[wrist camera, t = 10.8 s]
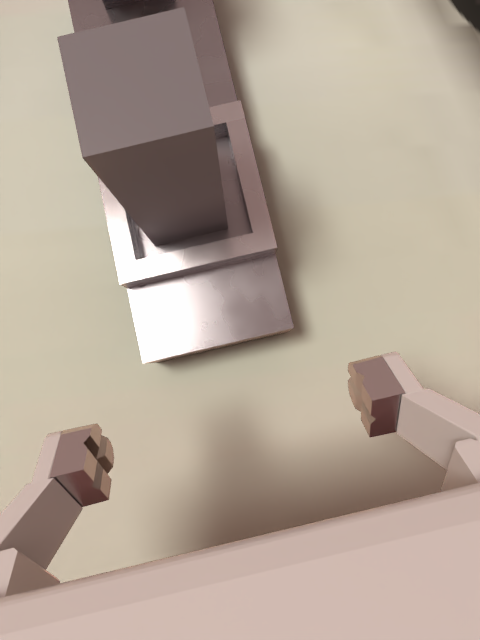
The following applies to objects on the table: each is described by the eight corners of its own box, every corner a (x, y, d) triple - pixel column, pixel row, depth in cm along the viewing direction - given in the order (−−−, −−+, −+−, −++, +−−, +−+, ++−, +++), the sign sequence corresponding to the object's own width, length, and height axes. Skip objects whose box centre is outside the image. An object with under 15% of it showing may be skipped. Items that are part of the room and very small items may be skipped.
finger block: (155, 246, 20) (82, 157, 11) (137, 169, 21) (54, 25, 12) (228, 228, 20) (214, 126, 11) (209, 151, 21) (181, -5, 12)
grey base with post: (156, 362, 23) (55, 367, 11) (81, 3, 25) (-70, -319, 13) (287, 331, 23) (333, 302, 11) (200, -24, 25) (157, -369, 13)
